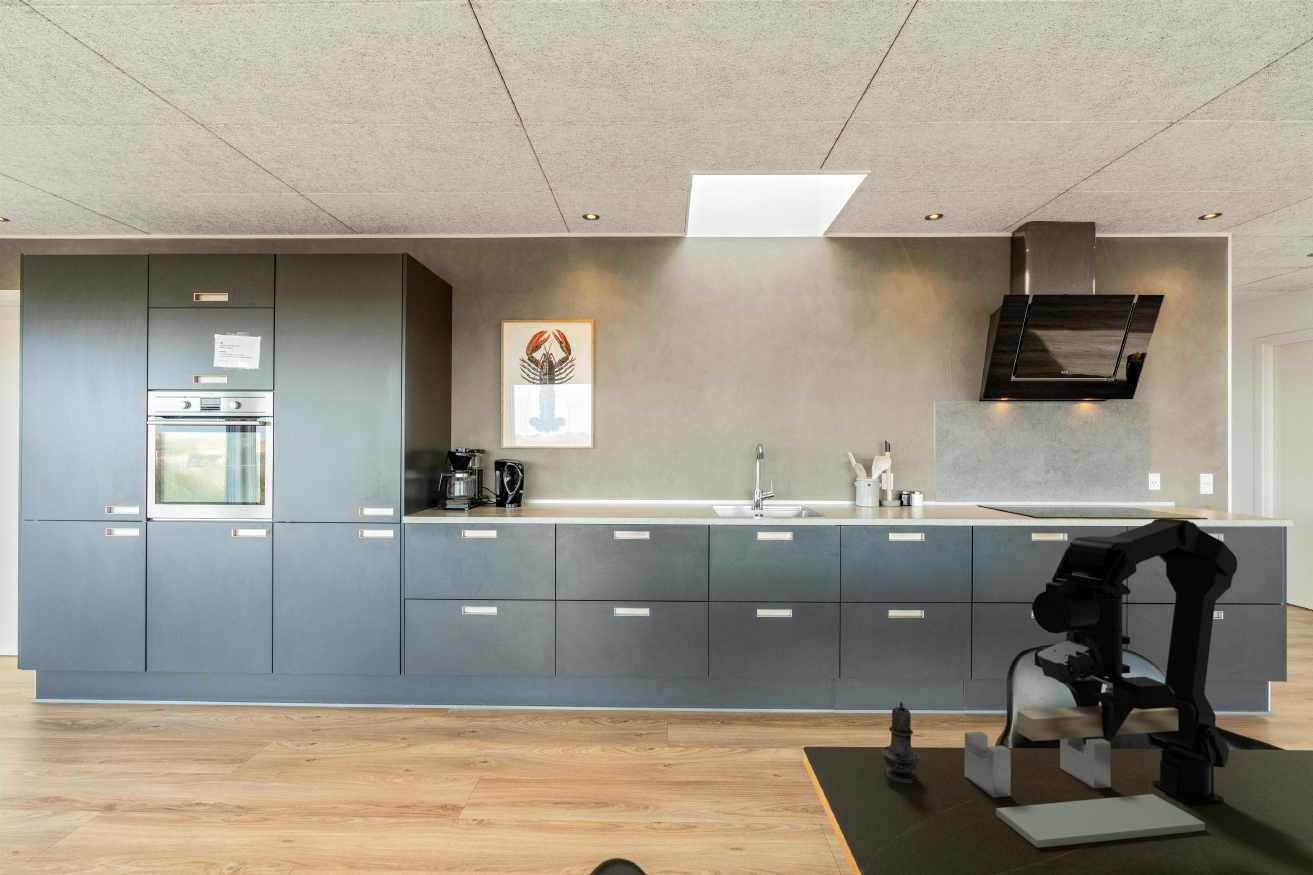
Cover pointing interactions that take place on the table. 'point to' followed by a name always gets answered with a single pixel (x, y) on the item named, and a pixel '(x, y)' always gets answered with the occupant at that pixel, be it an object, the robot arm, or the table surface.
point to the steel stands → (1075, 758)
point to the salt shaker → (901, 748)
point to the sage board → (1098, 820)
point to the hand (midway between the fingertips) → (1098, 734)
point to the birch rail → (1090, 722)
